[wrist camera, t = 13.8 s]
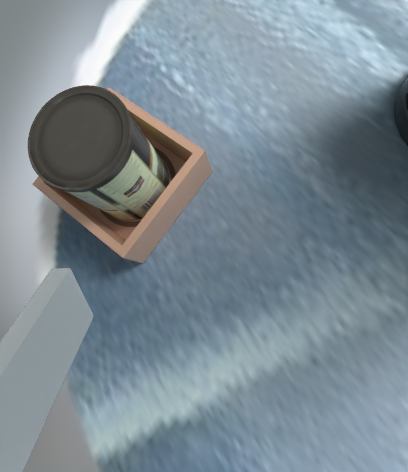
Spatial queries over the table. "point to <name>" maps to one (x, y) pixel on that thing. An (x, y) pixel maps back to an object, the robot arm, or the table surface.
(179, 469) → the table surface
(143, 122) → the planter box
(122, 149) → the coffee can
